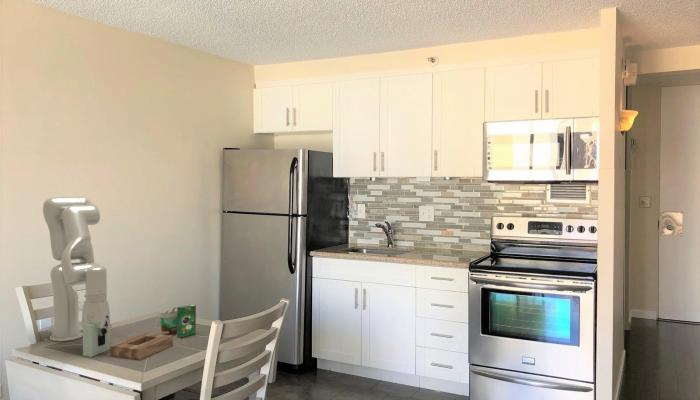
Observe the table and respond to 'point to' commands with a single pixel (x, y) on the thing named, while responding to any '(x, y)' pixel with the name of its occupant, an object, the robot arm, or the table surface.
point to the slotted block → (141, 346)
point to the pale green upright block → (93, 341)
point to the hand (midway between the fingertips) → (96, 343)
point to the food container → (169, 322)
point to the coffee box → (186, 320)
